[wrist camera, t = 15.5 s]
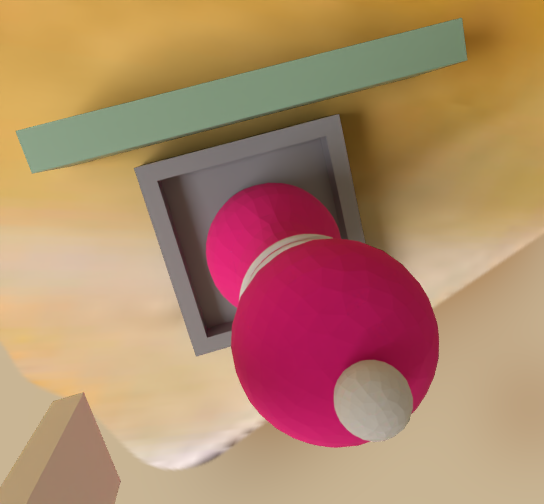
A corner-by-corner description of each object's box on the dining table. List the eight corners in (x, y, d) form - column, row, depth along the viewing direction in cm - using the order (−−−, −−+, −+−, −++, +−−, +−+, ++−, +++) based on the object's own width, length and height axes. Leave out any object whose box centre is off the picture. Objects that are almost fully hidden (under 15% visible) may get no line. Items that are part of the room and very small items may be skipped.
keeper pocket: (328, 116, 29) (339, 114, 26) (364, 290, 32) (377, 303, 29) (140, 165, 28) (134, 168, 25) (197, 339, 31) (196, 356, 29)
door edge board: (410, 42, 28) (461, 17, 22) (415, 76, 29) (467, 60, 23) (57, 132, 27) (15, 131, 21) (69, 166, 27) (32, 173, 22)
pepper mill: (238, 155, 27) (324, 189, 8) (339, 209, 29) (606, 341, 10) (185, 260, 28) (153, 509, 9) (286, 306, 30) (434, 597, 11)
